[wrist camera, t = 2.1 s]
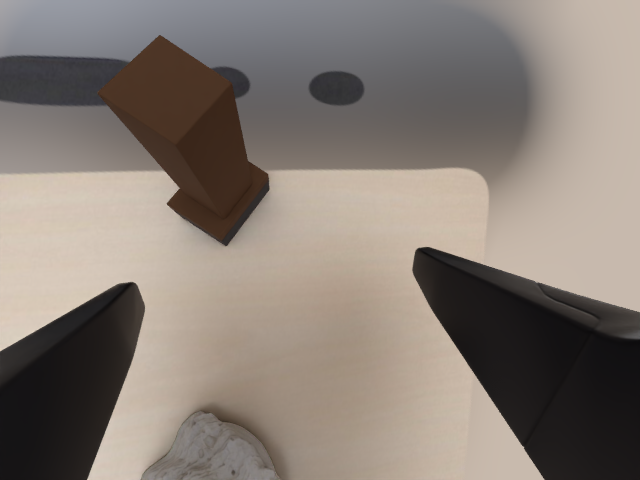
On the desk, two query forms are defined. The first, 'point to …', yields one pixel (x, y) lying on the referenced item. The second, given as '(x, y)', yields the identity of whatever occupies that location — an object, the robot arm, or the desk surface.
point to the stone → (213, 453)
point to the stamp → (190, 135)
